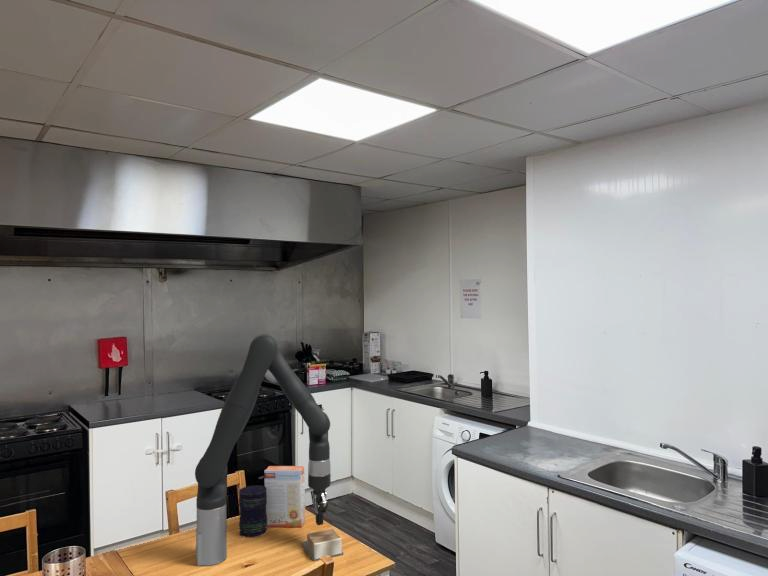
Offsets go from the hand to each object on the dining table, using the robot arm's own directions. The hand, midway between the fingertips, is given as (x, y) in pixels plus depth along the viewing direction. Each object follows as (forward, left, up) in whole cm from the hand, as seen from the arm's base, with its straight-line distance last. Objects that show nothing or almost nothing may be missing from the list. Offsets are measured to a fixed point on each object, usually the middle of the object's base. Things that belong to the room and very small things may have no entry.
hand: (319, 524), depth 175 cm
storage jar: (-18, +23, -8) cm, 30 cm away
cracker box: (-6, +24, -8) cm, 26 cm away
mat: (0, -2, -8) cm, 8 cm away
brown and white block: (0, 0, -5) cm, 5 cm away
